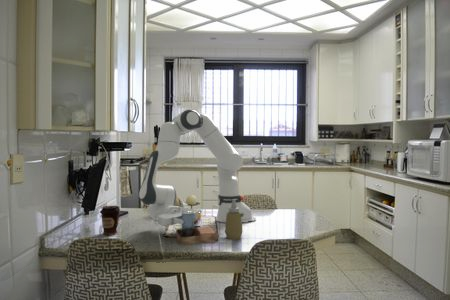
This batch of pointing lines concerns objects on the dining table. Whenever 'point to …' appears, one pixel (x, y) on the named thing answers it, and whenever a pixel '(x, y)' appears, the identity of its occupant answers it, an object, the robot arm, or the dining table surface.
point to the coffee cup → (110, 219)
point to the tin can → (188, 223)
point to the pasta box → (205, 231)
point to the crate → (195, 237)
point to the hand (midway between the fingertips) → (189, 220)
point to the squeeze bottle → (233, 223)
